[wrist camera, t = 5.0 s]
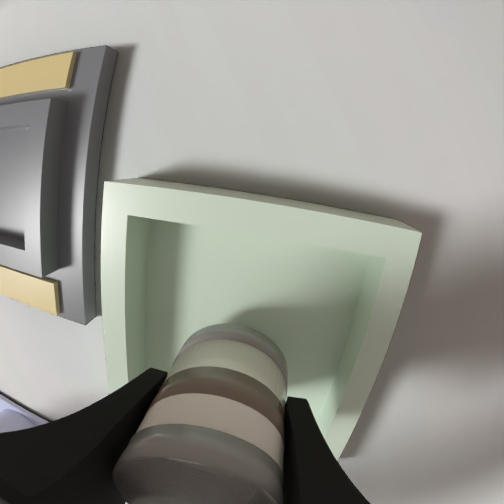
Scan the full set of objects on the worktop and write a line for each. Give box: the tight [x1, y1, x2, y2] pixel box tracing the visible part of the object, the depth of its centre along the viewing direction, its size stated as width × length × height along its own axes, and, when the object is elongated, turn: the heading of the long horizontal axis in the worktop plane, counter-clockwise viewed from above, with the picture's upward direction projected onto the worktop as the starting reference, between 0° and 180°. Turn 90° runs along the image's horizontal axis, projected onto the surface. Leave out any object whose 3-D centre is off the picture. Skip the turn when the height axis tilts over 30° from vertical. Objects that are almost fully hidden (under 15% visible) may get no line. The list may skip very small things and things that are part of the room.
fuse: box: [112, 324, 288, 504], centre depth 9 cm, size 4×4×6 cm
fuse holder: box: [0, 45, 118, 325], centre depth 12 cm, size 12×10×2 cm
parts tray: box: [101, 178, 422, 461], centre depth 12 cm, size 13×10×2 cm
